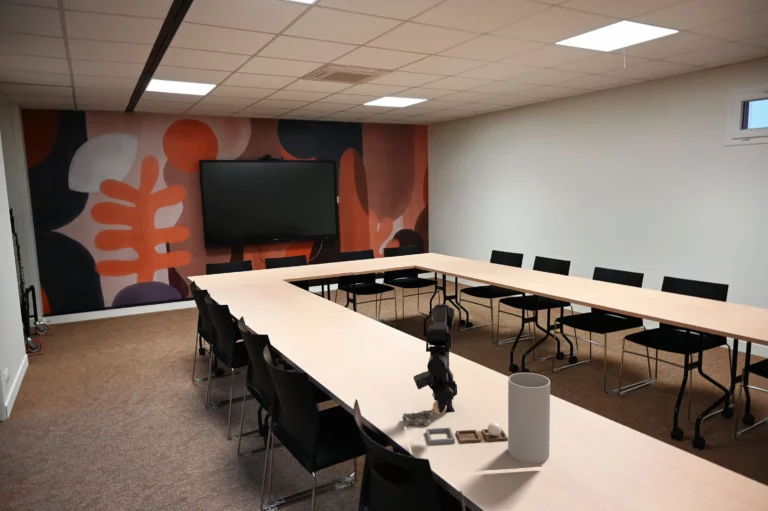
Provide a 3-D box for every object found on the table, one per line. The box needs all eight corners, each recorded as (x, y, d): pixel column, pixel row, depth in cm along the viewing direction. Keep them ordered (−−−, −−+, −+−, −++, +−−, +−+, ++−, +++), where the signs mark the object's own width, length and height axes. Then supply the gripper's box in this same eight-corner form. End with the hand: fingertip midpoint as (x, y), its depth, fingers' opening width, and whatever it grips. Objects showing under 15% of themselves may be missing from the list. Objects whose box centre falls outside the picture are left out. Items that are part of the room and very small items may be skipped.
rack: (455, 435, 174) (455, 430, 173) (501, 432, 174) (501, 427, 174) (460, 446, 166) (460, 441, 165) (508, 443, 166) (508, 438, 166)
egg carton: (432, 420, 186) (432, 410, 185) (430, 430, 178) (430, 419, 178) (404, 418, 188) (404, 408, 187) (401, 428, 180) (400, 417, 180)
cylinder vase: (557, 462, 155) (558, 384, 151) (521, 469, 151) (522, 390, 148) (534, 443, 166) (535, 370, 163) (500, 449, 163) (500, 375, 160)
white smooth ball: (486, 432, 172) (486, 420, 172) (499, 432, 173) (499, 419, 172) (489, 439, 168) (489, 426, 167) (503, 438, 168) (503, 425, 167)
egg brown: (432, 410, 171) (431, 397, 171) (445, 409, 171) (445, 397, 171) (434, 416, 167) (433, 403, 166) (447, 415, 167) (447, 402, 166)
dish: (426, 435, 174) (425, 428, 174) (450, 433, 175) (449, 427, 174) (429, 447, 166) (429, 440, 166) (454, 445, 166) (454, 439, 166)
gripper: (411, 357, 176) (412, 399, 178) (418, 376, 157) (419, 423, 159) (443, 355, 176) (443, 397, 178) (453, 374, 158) (454, 421, 160)
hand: (439, 409), depth 169 cm, fingers closed on egg brown, 5 cm apart
